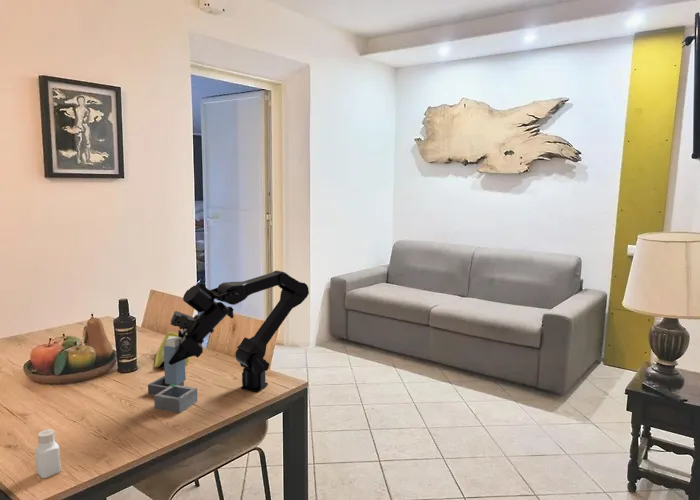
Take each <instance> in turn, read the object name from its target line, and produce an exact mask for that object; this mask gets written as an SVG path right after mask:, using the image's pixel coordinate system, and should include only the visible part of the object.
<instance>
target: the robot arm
mask: <svg viewBox="0 0 700 500" xmlns="http://www.w3.org/2000/svg"><path fill="white" fill-rule="evenodd" d="M274 287H278V288H280V289H281V291H280V298H279V300H278V302H277V304H276V305H275V306H274V308H273V309H272V311H271V312H270V313H269V314H268V316H267V317H266V319H265V320H264V322H263V323H262V325H260V327H259V328H258V329H257V331H256V332H255V334H254V336H252V337H250V338H248V337H244V338H243V339H242V341H241V343H240V344H239V345H237V347H236V348H237V349H236V352H235V359H236V361H237V363H239V364H240V367H241V368H243V369H242V373H241V384H242V386H241V387H240V389H241V390H244V391H250V392H256V393H259V392H261V391H262V390H263V389H264V388H266V387H267V386H268V385H269V383H268V382H266V371H268V370H269V367H270V363H269V362H268V361H267V360H266V359H264V357H265V355H266V352H267V345H268V344H269V342H270V341H271V339H272V338H273V336H274V335H275V334H276V332H277V331H278V329H279V328H280V326H281V325H282V324H283V323H284V321H285V319H286V318H287V317H288V315H289V314H290V313H291V311H292V310H293V309H294V308H296V307H298V306H299V305H301V304H302V303H303V302H304V301H305V300H306V299H307V298H308V296H309V294H310V288H309V286H308V285H307V283H305V282H302V281H299V280H297V279H295V278H294V277H292V276H290V275H289V274H288V273H287V272H285V271H282V270H274V271H272V272H270V273H267V274H263V275H260V276H256V277H254V278H251V279H246V280H243V281H227V282H226V281H225V282H222V283H220V284H218V287H215V288H212V289H208V288H207V287H206V286H205V284H203V283H202V282H197V283H196V284H195V285H193V286H191V287H190V288H188V289H187V290H186V291H185V293H184V295H183V297H182V300H183V302H184V303H186V304H187V305H188V306H190V308H192V309H194V310H195V311H196V312H197V313H200V314H195V315H194V316H190V315H188V314H186V313H182V312H180V311H176V310H175V311H174V312H173V315H172V317H171V319H170V325H171V326H173V327H178V333H177V334H178V337H182V340H180V339H179V348H178V349H177V351H176V352H175V353H174V355H173V356H172V358H171V359H170V361H169V364H170V365H172V364H175V363H177V362H179V361H182V360H184V359H187V358H189V357H196V358H199V357H200V356H201V355H202V354H203V351H204V350H203V343H204V342H205V338H206V337H208V335H210V334H213V333H214V332H215V328H216V327H217V326H218V325H219V324H220V322H222V321H223V320H224V319H225V317H227V316H228V317H229V318H230V319H234V307H232V306H235V305H238V304H239V303H241V302H243V301H245V300H246V299H247V298H248V297H249V296H251V295H254V294H256V293H259V292H262V291H265V290H268V289H270V288H274ZM216 300H217V301H218V302H217V301H216ZM224 303H225V304H227V305H228V304H229V305H231V306H227V305H225V304H224Z"/></svg>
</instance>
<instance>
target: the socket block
mask: <svg viewBox="0 0 700 500" xmlns="http://www.w3.org/2000/svg"><path fill="white" fill-rule="evenodd" d="M153 397H154V409H155V410H158V411H159V410H160V411H165V412H168V413H169V412H171V413H175V414H181V413H183V412H184V411H185V410H186V409H188V408H190V407H192V406H193V405H194V404H196V403H197V402H198V388H196V387H191V386H185V385H184V386H180V385H172V384H171V386H170V387H168V388H166V389H165V390H163V391H161V392H159V393H158V394H156V395H153Z"/></svg>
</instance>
